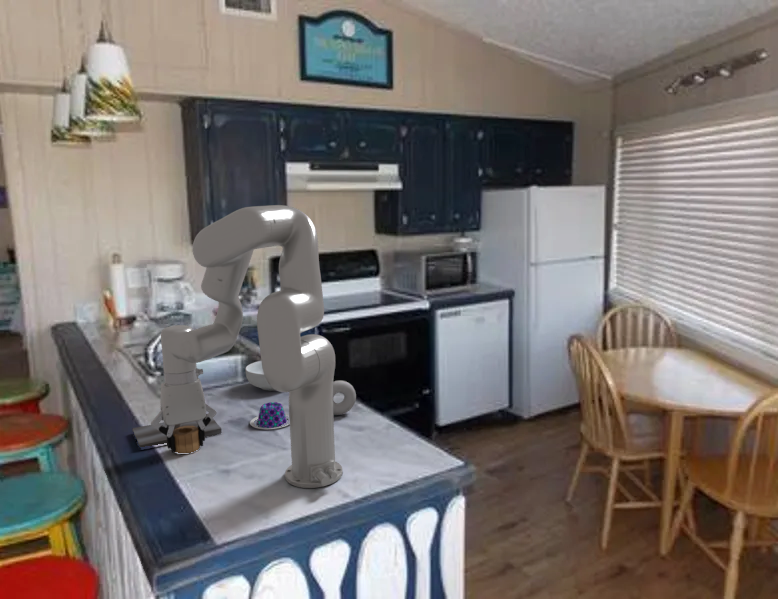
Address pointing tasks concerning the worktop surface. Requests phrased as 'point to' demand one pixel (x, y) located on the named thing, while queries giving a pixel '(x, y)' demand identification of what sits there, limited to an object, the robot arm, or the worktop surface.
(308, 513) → the worktop surface
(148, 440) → the needle stand
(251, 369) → the cereal bowl
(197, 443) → the bead
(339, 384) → the donut
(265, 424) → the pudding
